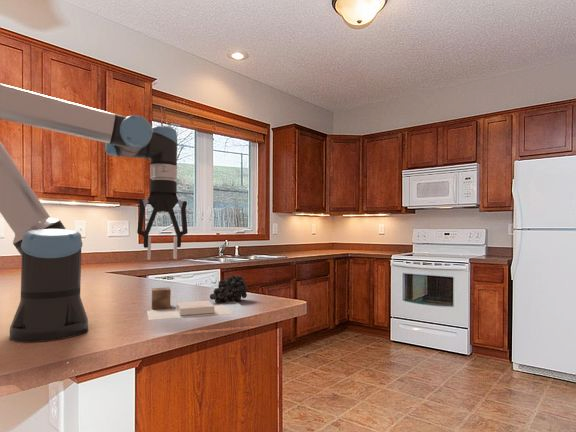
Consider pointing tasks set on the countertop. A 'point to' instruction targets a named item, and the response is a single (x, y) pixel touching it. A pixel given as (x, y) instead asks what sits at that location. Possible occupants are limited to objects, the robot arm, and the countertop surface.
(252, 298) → the countertop surface
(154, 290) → the walnut block
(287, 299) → the countertop surface
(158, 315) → the mat
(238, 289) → the fruit
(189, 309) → the tile
